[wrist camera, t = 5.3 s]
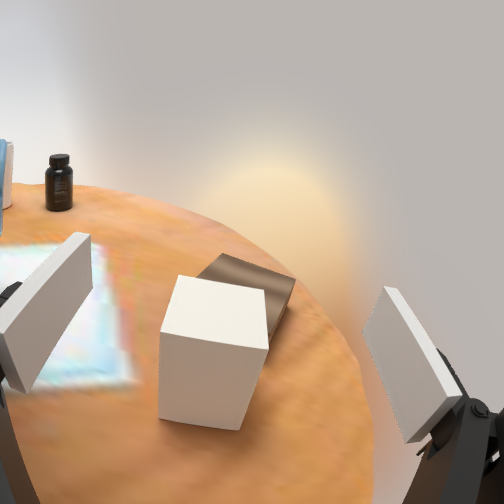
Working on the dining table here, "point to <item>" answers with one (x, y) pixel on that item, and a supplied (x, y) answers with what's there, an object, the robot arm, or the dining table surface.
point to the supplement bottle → (59, 183)
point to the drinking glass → (8, 176)
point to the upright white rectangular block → (211, 352)
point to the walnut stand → (254, 284)
